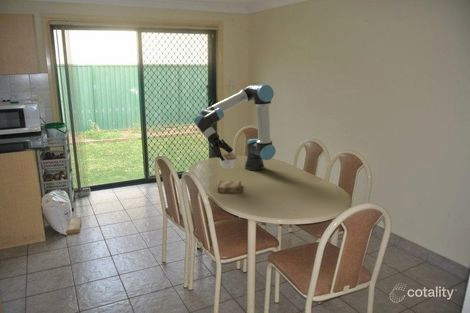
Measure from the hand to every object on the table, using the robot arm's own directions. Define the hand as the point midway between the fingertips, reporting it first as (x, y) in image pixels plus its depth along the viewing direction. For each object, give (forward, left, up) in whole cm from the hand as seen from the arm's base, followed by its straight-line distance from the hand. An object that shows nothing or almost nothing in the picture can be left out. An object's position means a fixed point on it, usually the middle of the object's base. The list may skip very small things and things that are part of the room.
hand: (231, 162), depth 226 cm
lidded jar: (+3, -1, -4) cm, 5 cm away
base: (+1, +3, -17) cm, 17 cm away
